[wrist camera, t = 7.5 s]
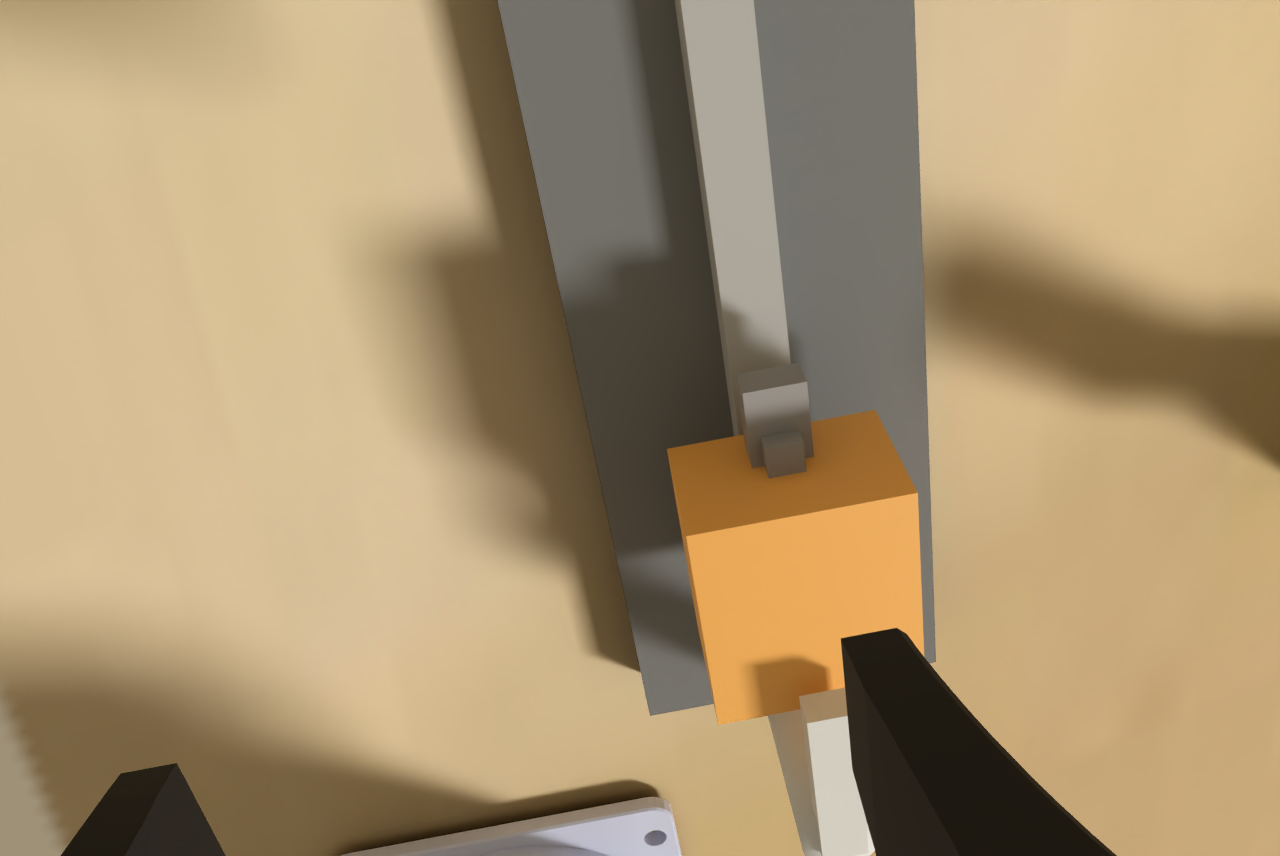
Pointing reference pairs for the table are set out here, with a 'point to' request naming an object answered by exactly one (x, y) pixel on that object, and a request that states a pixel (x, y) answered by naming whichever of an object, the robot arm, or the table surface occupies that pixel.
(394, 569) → the table surface
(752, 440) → the orange cube with peg
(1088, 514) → the table surface
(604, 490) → the linear slider rail
